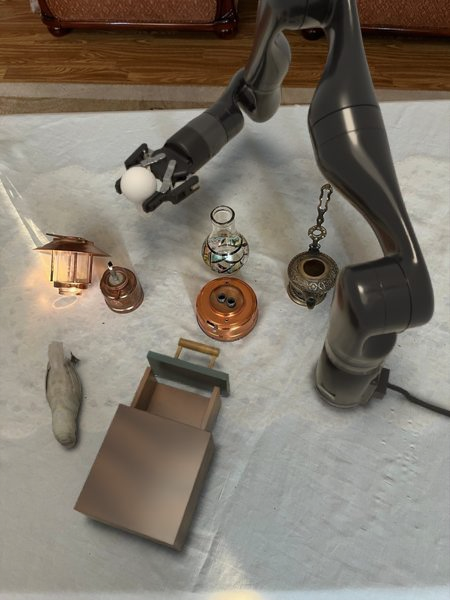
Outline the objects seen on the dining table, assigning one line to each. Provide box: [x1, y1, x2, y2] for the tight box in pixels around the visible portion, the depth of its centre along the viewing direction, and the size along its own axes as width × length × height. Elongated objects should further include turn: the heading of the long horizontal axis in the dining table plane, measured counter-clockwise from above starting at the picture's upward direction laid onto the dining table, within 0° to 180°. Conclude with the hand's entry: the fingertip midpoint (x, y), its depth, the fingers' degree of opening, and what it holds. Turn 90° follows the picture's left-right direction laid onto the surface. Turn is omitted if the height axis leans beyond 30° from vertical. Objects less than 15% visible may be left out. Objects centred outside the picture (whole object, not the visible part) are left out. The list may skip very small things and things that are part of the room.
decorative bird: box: [44, 340, 82, 448], centre depth 85 cm, size 5×16×8 cm, turn 11°
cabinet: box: [73, 403, 216, 552], centre depth 77 cm, size 16×15×10 cm
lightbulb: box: [120, 167, 158, 219], centre depth 91 cm, size 6×6×11 cm
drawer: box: [129, 337, 231, 433], centre depth 83 cm, size 19×13×8 cm
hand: (130, 199), depth 89 cm, fingers closed on lightbulb, 6 cm apart
